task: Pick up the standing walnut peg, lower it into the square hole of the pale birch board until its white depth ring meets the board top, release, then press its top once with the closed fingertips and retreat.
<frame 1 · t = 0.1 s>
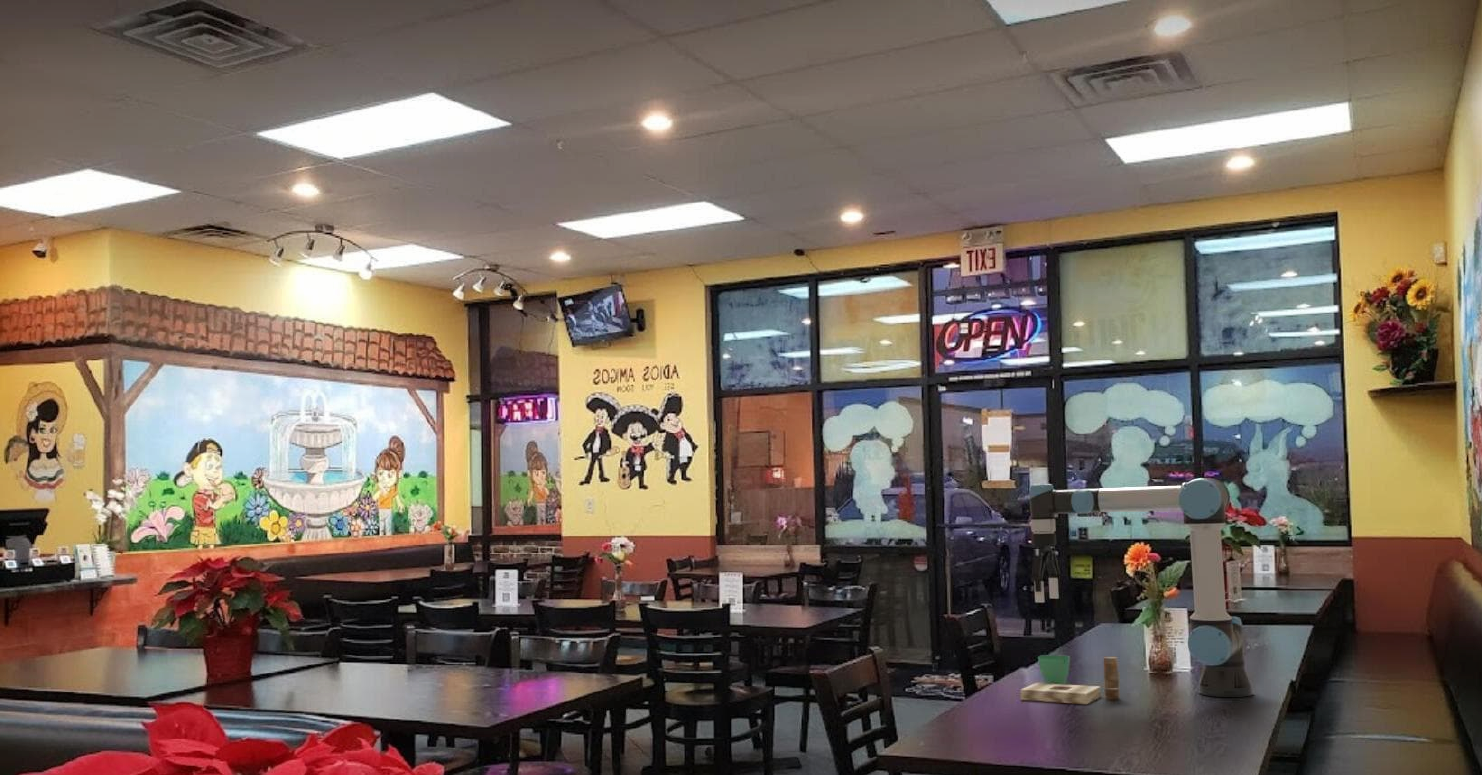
hand: (1047, 600, 379), 28 cm above the table, fingers open, 13 cm apart
peg: (1112, 698, 359), on the table
board: (1061, 698, 362), on the table
mug: (1057, 688, 381), on the table
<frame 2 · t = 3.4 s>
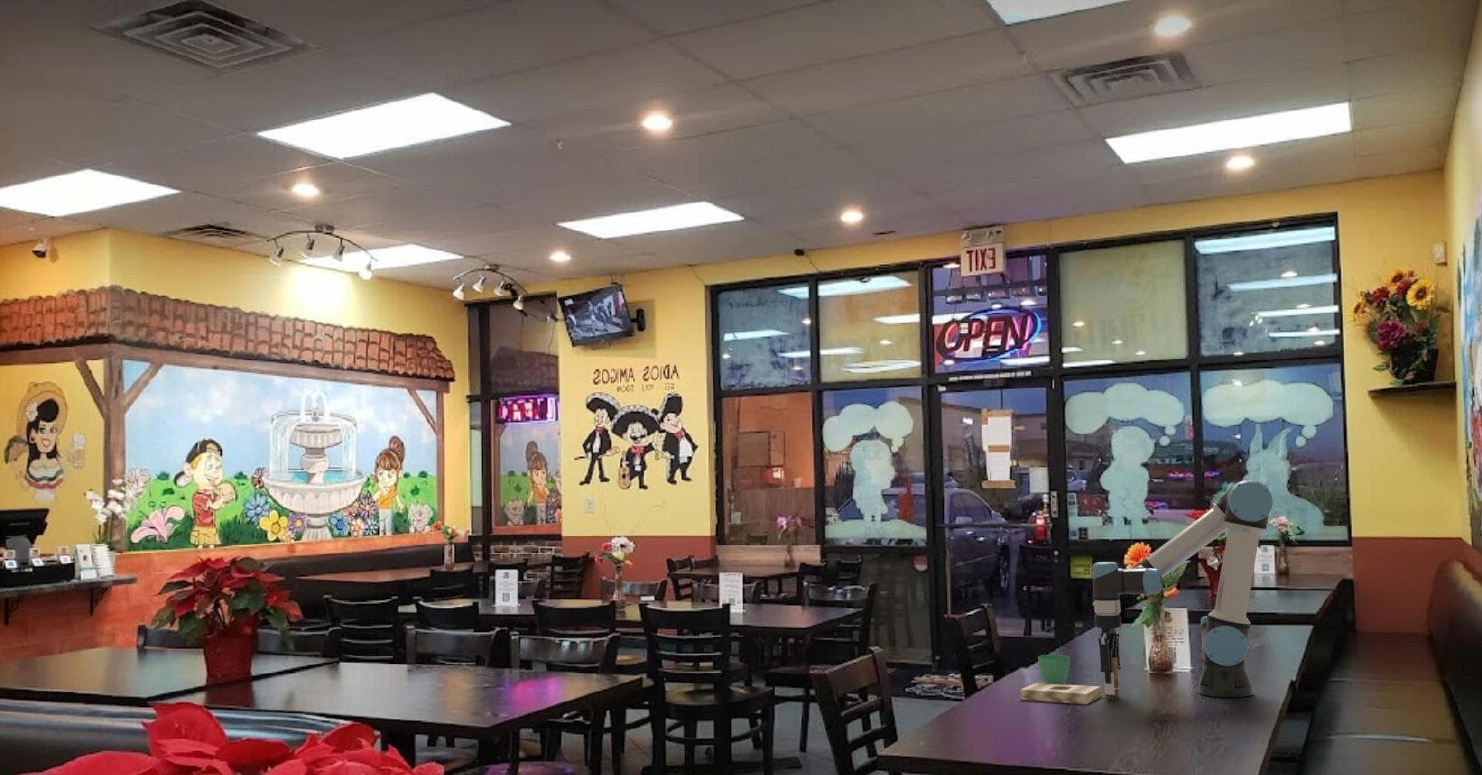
hand: (1112, 692, 359), 2 cm above the table, fingers closed on peg, 4 cm apart
peg: (1112, 698, 359), on the table, touching gripper
everything else where it was.
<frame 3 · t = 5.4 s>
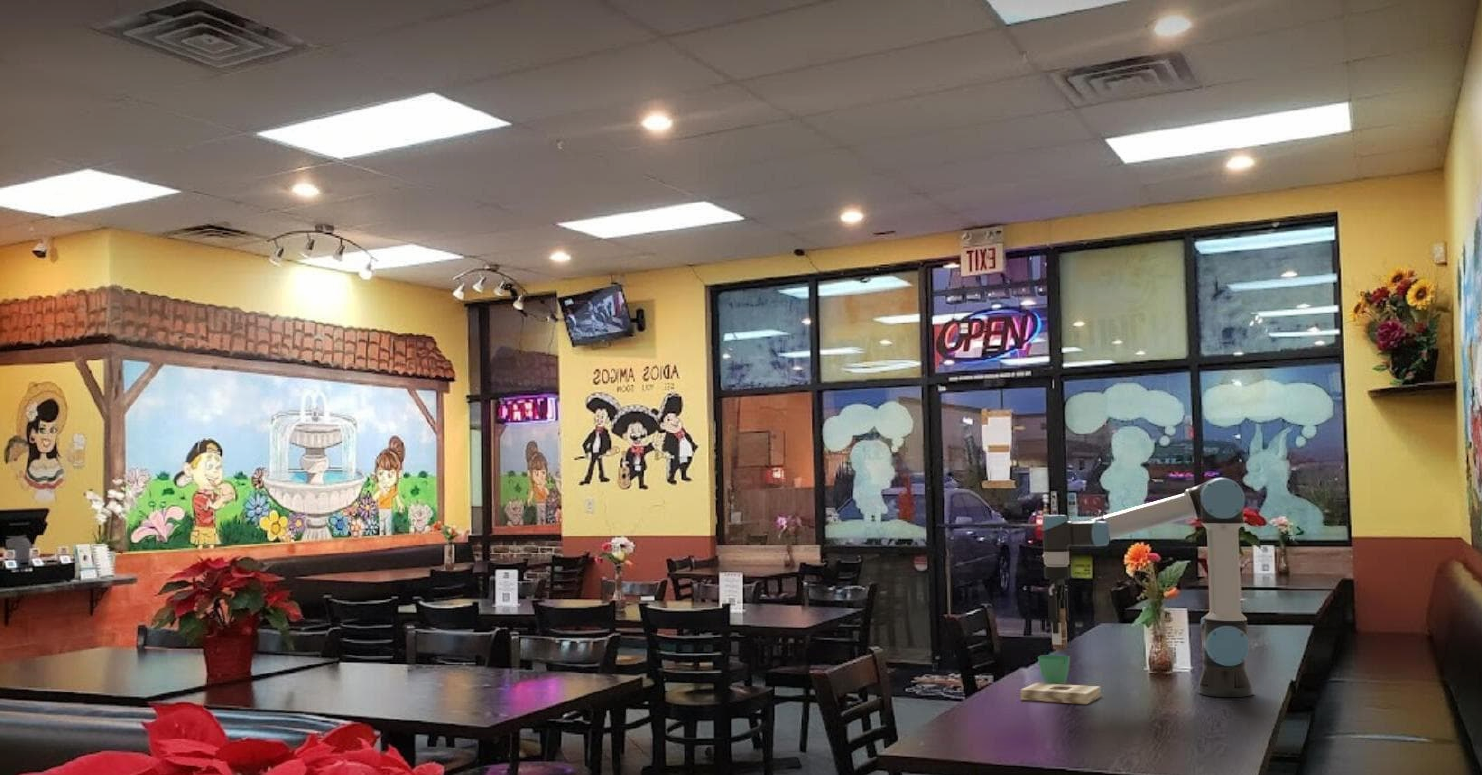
hand: (1059, 643, 363), 16 cm above the table, fingers closed on peg, 4 cm apart
peg: (1059, 648, 363), point 15 cm above the table, touching gripper
everything else where it was.
when the fingers open (4 cm above the table, at t = 7.6 s): peg drops 2 cm, resting in board.
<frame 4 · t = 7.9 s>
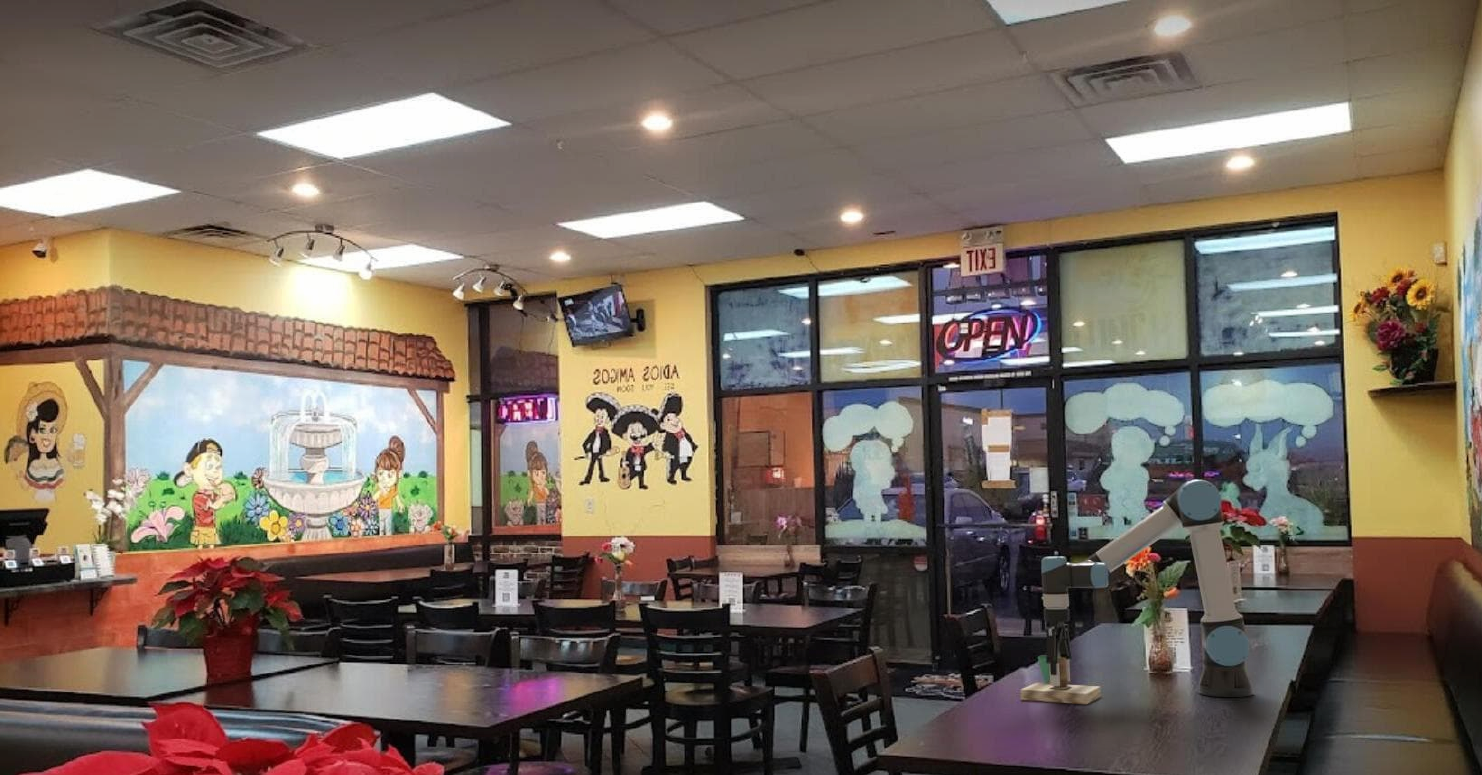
hand: (1060, 683, 362), 4 cm above the table, fingers open, 9 cm apart
peg: (1061, 698, 362), resting in board
everything else where it was.
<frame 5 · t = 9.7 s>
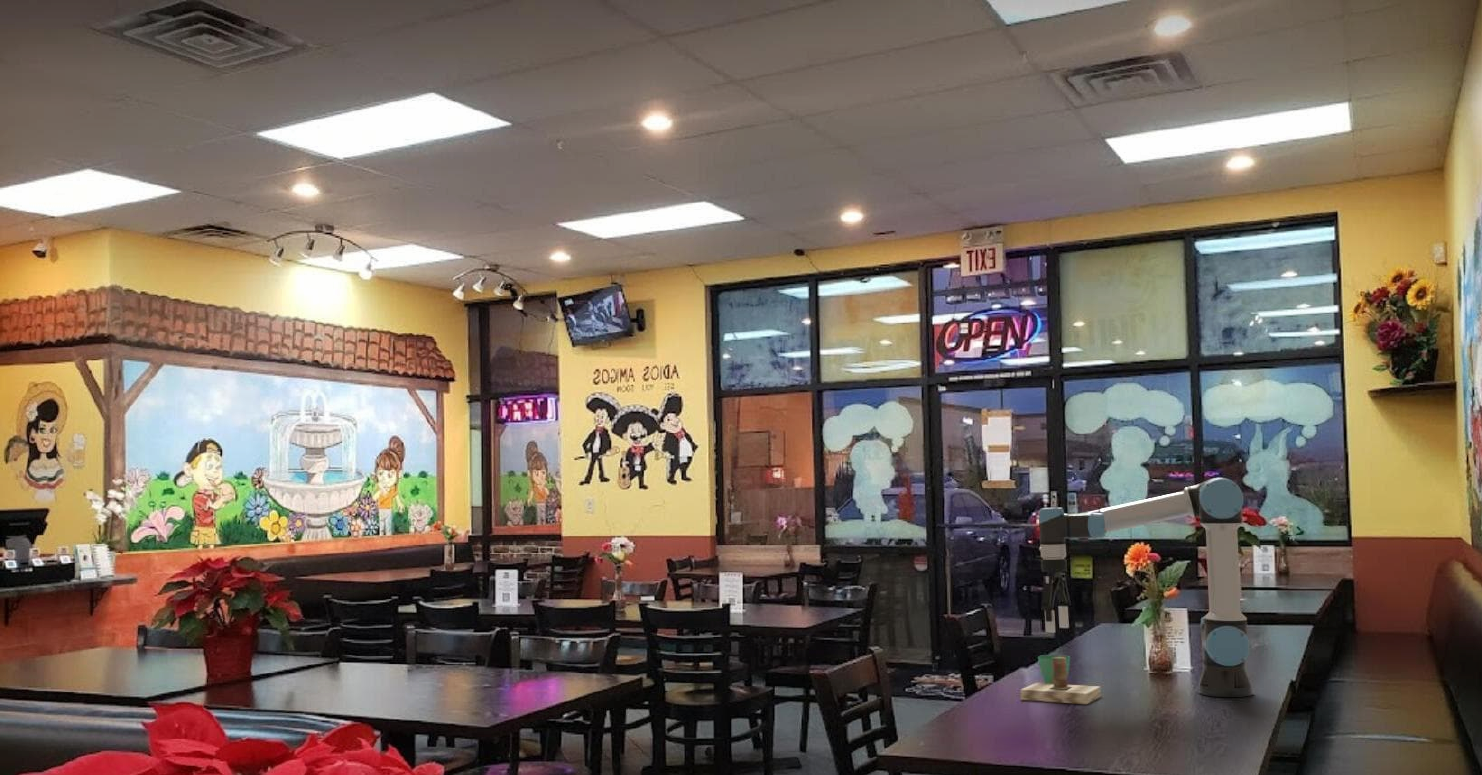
hand: (1057, 630, 364), 20 cm above the table, fingers open, 12 cm apart
nothing on the table moved.
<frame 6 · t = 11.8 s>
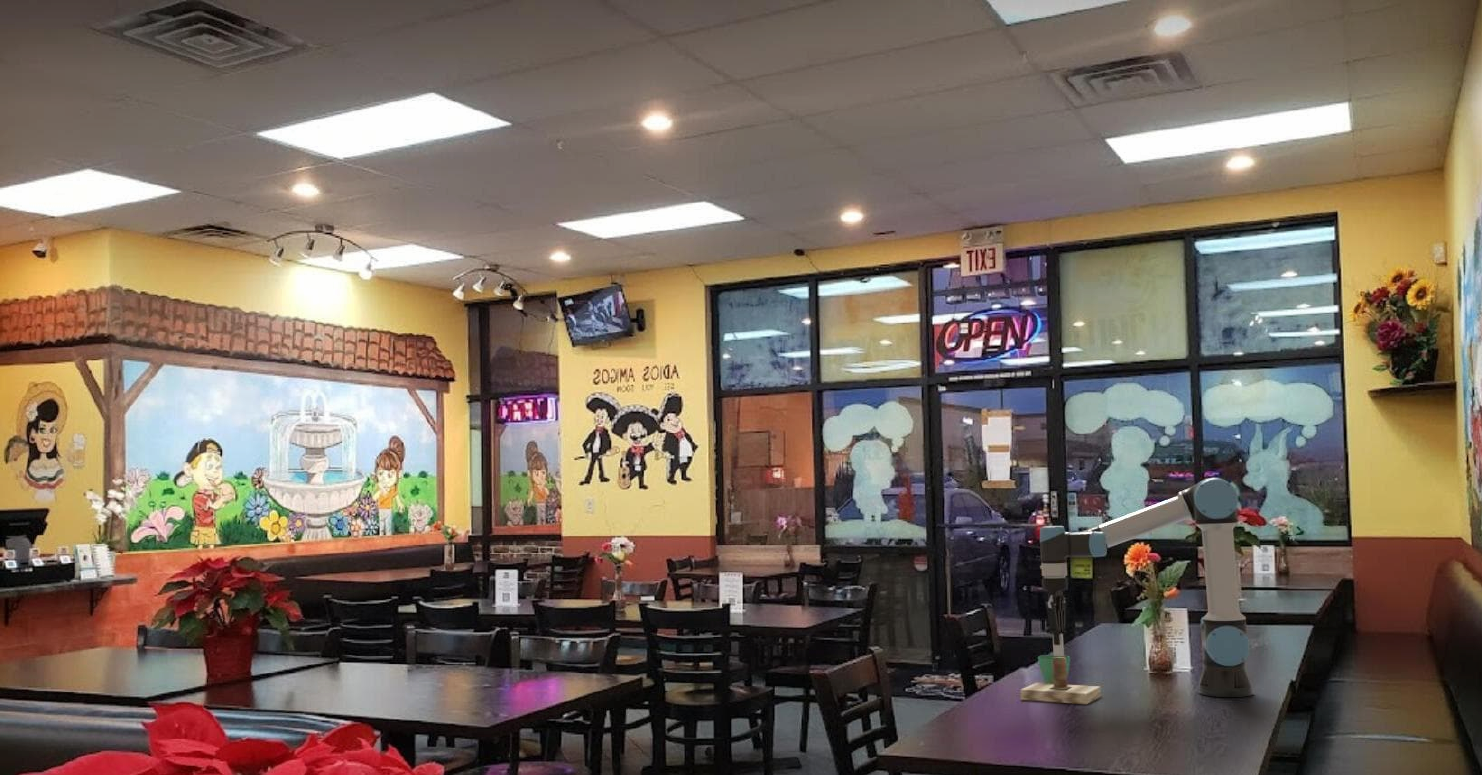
hand: (1058, 655, 363), 13 cm above the table, fingers closed
nothing on the table moved.
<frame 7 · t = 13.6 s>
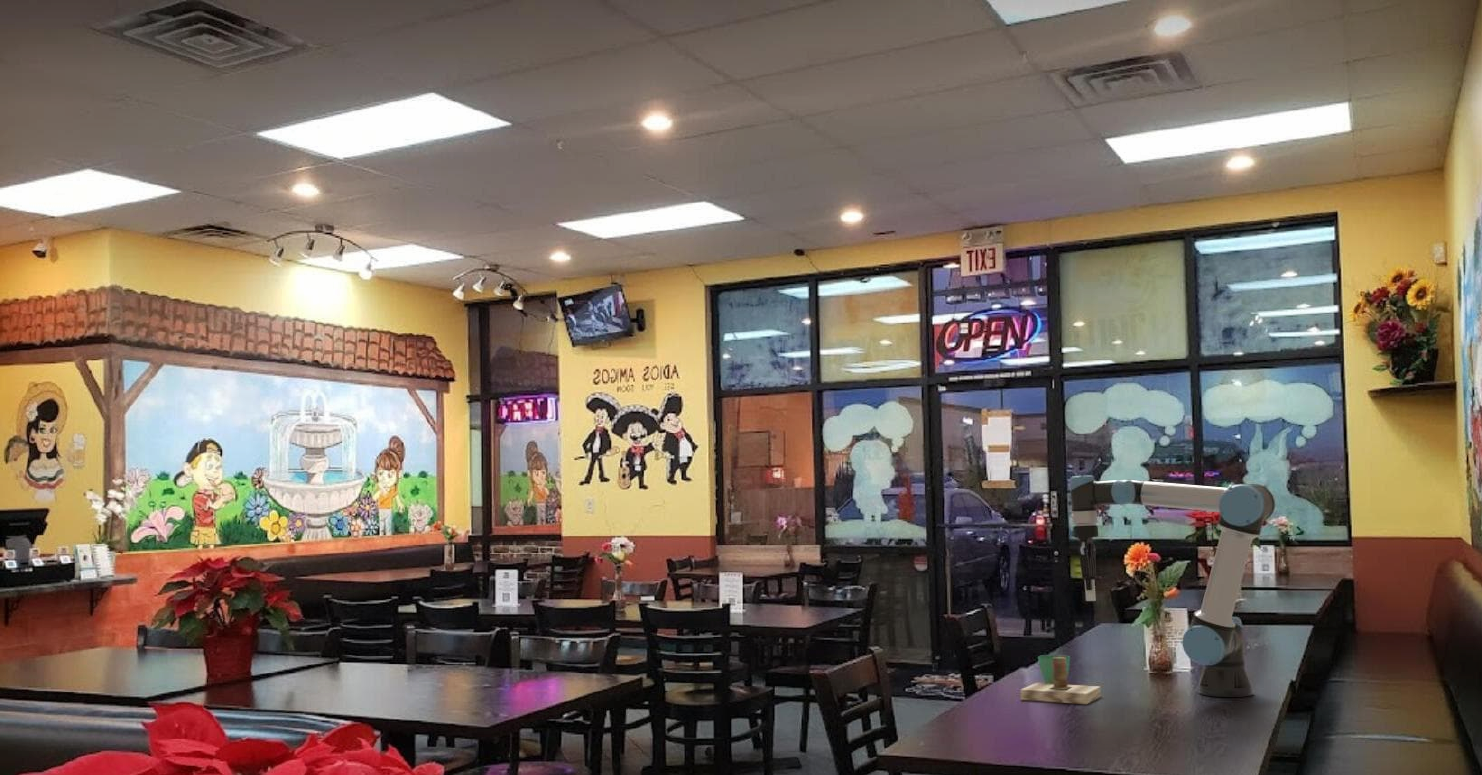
hand: (1090, 600, 375), 28 cm above the table, fingers closed
nothing on the table moved.
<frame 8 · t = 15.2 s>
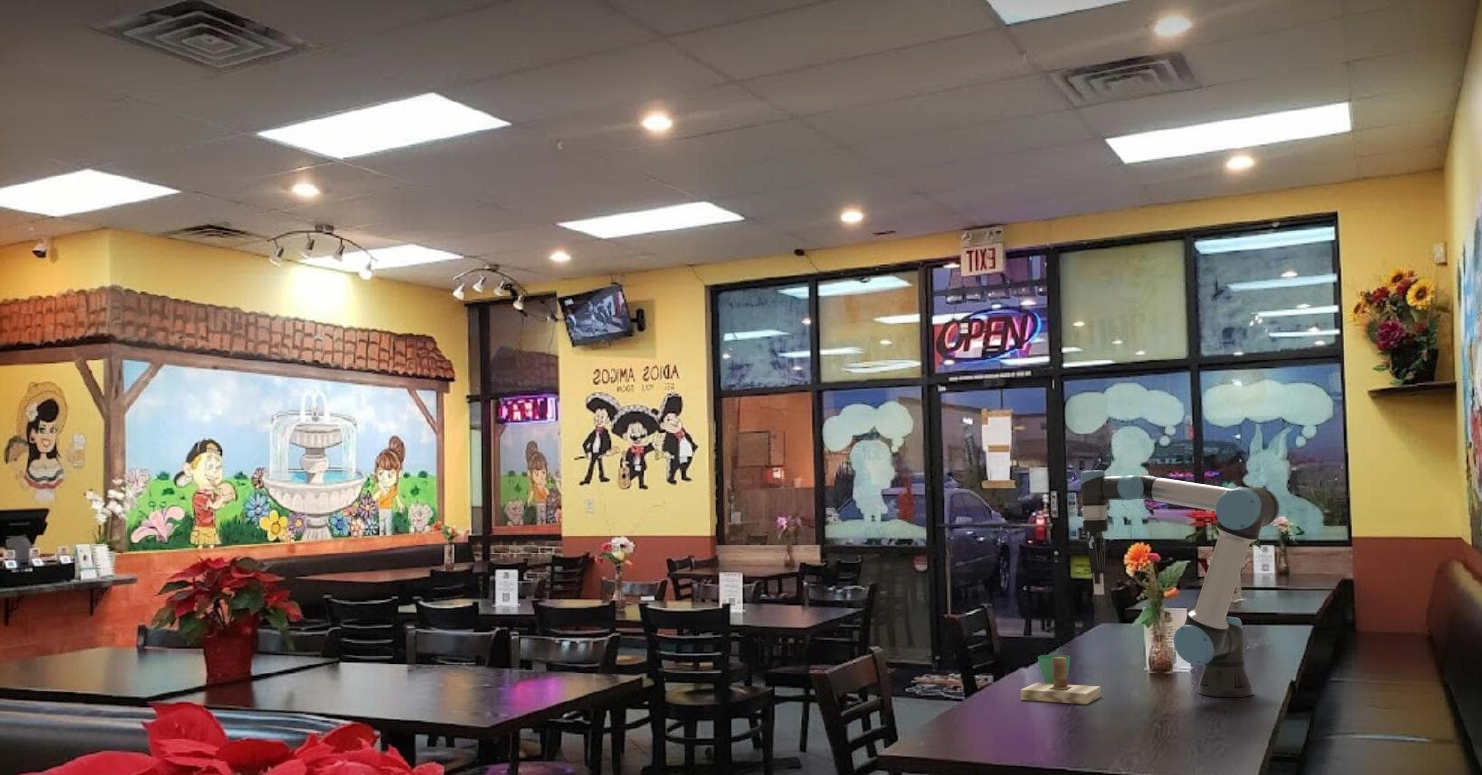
hand: (1099, 594, 378), 29 cm above the table, fingers closed
nothing on the table moved.
at the end: peg 0.0 cm off-centre on the board, point 0.0 cm above the board's base; peg tilted 0°; the gripper is holding nothing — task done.
